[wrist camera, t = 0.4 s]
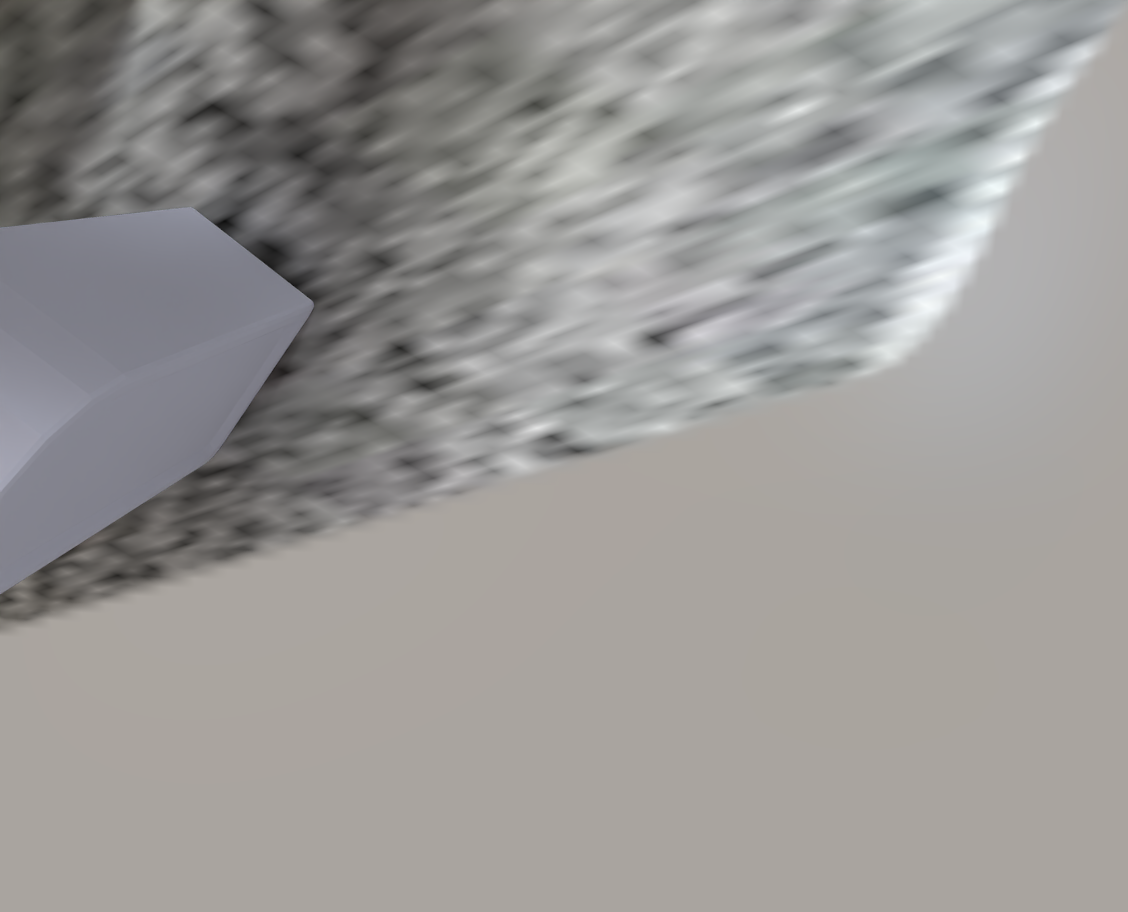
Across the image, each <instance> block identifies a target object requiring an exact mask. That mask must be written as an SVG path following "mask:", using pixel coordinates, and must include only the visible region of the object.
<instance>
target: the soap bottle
mask: <svg viewBox="0 0 1128 912" xmlns="http://www.w3.org/2000/svg"><path fill="white" fill-rule="evenodd" d="M313 308H314V302H313V301H312V300H311V299H309V298H308V297H307V296H305V295H304V294H303V293H302V292H300V291H299V290H298V289H296V288H295V287H294V286H293V285H291V284H290V283H289V282H287V281H286V280H285V279H284V278H282V277H281V276H280V275H278V274H277V273H276V272H275V271H273V270H272V269H271V268H269V267H268V266H267V265H266V264H264V263H263V262H262V261H260V260H259V259H258V258H257V257H255V256H254V255H253V254H252V253H250V252H249V251H248V250H246V249H245V248H244V247H243V246H241V245H240V244H239V243H237V242H236V241H235V240H234V239H232V238H231V237H230V236H228V235H227V234H226V233H225V232H223V231H222V230H221V229H219V228H218V227H217V226H216V225H214V224H213V223H212V222H210V221H209V220H208V219H207V218H205V217H204V216H203V215H201V214H200V213H199V212H198V211H196V210H195V209H194V208H193V207H185V208H176V209H166V210H157V211H148V212H139V213H129V214H120V215H111V216H102V217H92V218H83V219H74V220H65V221H55V222H46V223H37V224H28V225H18V226H9V227H0V594H2V593H3V592H5V591H6V590H8V589H9V588H11V587H13V586H14V585H16V584H17V583H19V582H20V581H22V580H24V579H25V578H27V577H28V576H30V575H31V574H33V573H34V572H36V571H38V570H39V569H41V568H42V567H44V566H45V565H47V564H49V563H50V562H52V561H53V560H55V559H56V558H58V557H60V556H61V555H63V554H64V553H66V552H67V551H69V550H71V549H72V548H74V547H75V546H77V545H78V544H80V543H82V542H83V541H85V540H86V539H88V538H89V537H91V536H93V535H94V534H96V533H97V532H99V531H100V530H102V529H104V528H105V527H107V526H108V525H110V524H111V523H113V522H115V521H116V520H118V519H119V518H121V517H122V516H124V515H126V514H127V513H129V512H130V511H132V510H133V509H135V508H137V507H138V506H140V505H141V504H143V503H144V502H146V501H148V500H149V499H151V498H152V497H154V496H155V495H157V494H159V493H160V492H162V491H163V490H165V489H166V488H168V487H170V486H171V485H173V484H174V483H176V482H177V481H179V480H181V479H182V478H184V477H185V476H187V475H188V474H190V473H191V472H193V471H195V470H196V469H198V468H199V467H201V466H202V465H204V464H206V463H207V462H208V461H209V460H210V459H211V458H212V457H213V456H214V455H215V454H216V452H217V451H218V450H219V449H220V447H221V446H222V445H223V443H224V442H225V440H226V439H227V437H228V436H229V434H230V433H231V431H232V430H233V428H234V427H235V425H236V424H237V422H238V421H239V419H240V418H241V416H242V415H243V413H244V412H245V410H246V409H247V408H248V406H249V405H250V403H251V402H252V400H253V399H254V397H255V396H256V394H257V393H258V391H259V390H260V388H261V387H262V385H263V384H264V382H265V381H266V379H267V378H268V376H269V375H270V373H271V372H272V370H273V369H274V367H275V366H276V365H277V363H278V362H279V360H280V359H281V357H282V356H283V354H284V353H285V351H286V350H287V348H288V347H289V345H290V344H291V342H292V341H293V339H294V338H295V336H296V335H297V333H298V332H299V330H300V329H301V327H302V326H303V324H304V323H305V321H306V320H307V318H308V317H309V315H310V314H311V312H312V310H313Z"/></svg>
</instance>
